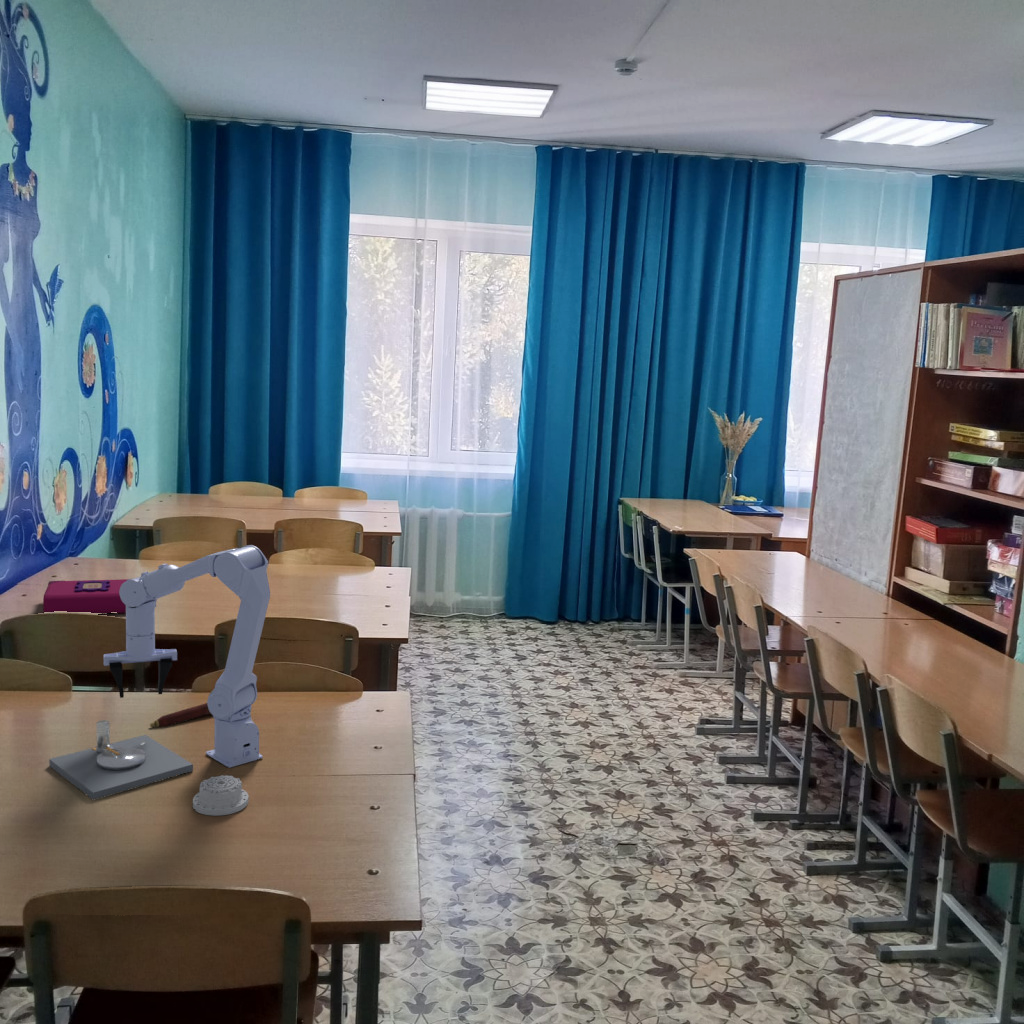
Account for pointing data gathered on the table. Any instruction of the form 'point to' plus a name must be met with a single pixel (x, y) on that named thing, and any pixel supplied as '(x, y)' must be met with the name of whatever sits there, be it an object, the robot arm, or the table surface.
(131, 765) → the dial
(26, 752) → the table surface
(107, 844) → the table surface
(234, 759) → the robot arm
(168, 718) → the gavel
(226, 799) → the mechanical component
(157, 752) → the dial plate
